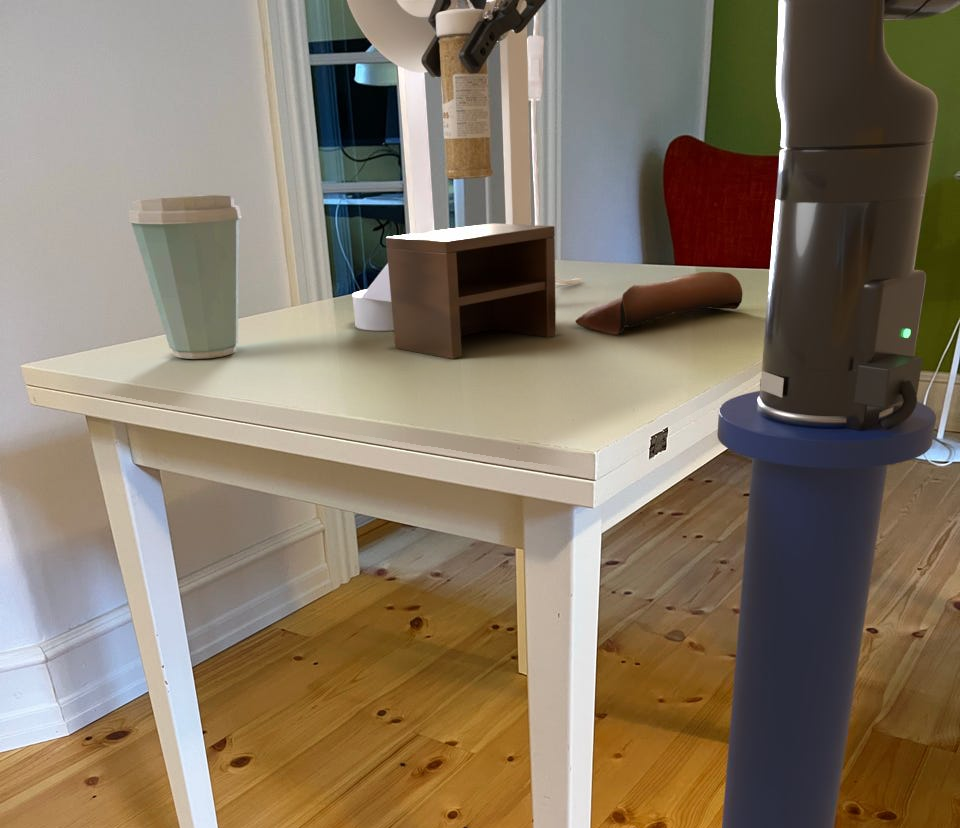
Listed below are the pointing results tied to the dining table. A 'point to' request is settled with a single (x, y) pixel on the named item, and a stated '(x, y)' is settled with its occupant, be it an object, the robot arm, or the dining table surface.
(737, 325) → the dining table surface
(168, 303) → the disposable coffee cup
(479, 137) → the sprinkles bottle
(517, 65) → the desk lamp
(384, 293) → the wedge on round base
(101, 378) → the dining table surface
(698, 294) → the sunglasses case
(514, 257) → the shelf
